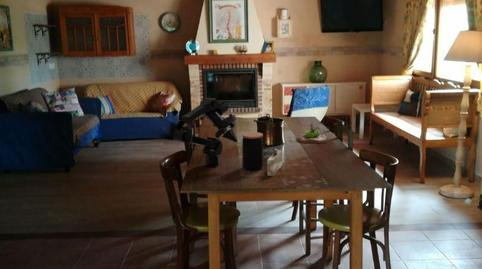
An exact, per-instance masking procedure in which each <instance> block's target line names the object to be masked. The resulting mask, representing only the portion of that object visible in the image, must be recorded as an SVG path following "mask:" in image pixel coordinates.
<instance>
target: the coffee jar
mask: <svg viewBox="0 0 482 269" xmlns="http://www.w3.org/2000/svg"><path fill="white" fill-rule="evenodd" d="M263 137H264V134H263V133H262V132H255V131H251V132H250V131H249V132H244V133H242V140H241V143H242V144H241V146H242V147H241V149H242V154H241V155H242V158H241V159H242V160H241V161H242V165H241V166H242V168H243V169H244V170H246V171H250V172H252V171H253V172H255V171H260V170H262V168H263V167H264V138H263Z"/></svg>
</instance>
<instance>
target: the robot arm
mask: <svg viewBox="0 0 482 269" xmlns="http://www.w3.org/2000/svg"><path fill="white" fill-rule="evenodd" d="M229 110H230V109H229V105H228V104H227V103H225V101H224V100H220V101H219V102H218V101H217V99H216V98H211V97H204V98H203V99H202V100H201V101H200V103H199V105H197V106H196V107H195V108H193V109H192V110H190V111H189V112H187V113H186V114H184V115H182V116H181V117H180V120H179V122H178V123H177V124H176V125H175V127H174V130H173V132H172V138H173V141H175V142H179V143H184V144H194V145H198V146H203V149H202V154H205V164H204V166H205V167H211V168H212V167H213V168H216V167H218V166H219V165H220V164H221V159H220V158H221V157H220V156H221V154H222V150H223V147H224V146H223V141H222V140H221V137H222V138H225V139H227V140H229V141H231V142H234V143H237V142H238V139H237V137H236V135H235V133H234V127H235V126H236V125H237V123H236V122H235V121H237V118H236V117H237V116H236V115H235V114H234V113H232V112H231V113H229V114H228V116H227V117H225V116H223V115H225V114H226V113H227V112H229ZM200 117H202V119H206V118H207V119H208V120H209V121H210V123H212V126H213V128H214V127H215V128H216V129H217V131H216V132H215V133H214V136H215V137H211V136H206V138H204V137H201V136H200V137H199V136H197V135H193V127H192V124H193V122H194V121H196V120H197V119H199V118H200ZM185 125H186V130H181V129H182V128H183V127H184V126H185Z"/></svg>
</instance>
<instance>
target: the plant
mask: <svg viewBox="0 0 482 269" xmlns="http://www.w3.org/2000/svg"><path fill="white" fill-rule="evenodd" d="M313 125H314V123H313V122H310V128H309V130H304V131H305V133H299V134H298V135H297V137H296V139H295V140H296V141H297V142H299V143H300V144H326V143H327V142H328V141H329V140H328V139H329V138H328V136H327V135H325V134H322V133H320V131H321V127H315V128H313ZM317 129H318V131H317Z"/></svg>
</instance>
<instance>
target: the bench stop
mask: <svg viewBox="0 0 482 269" xmlns="http://www.w3.org/2000/svg"><path fill="white" fill-rule="evenodd" d="M272 151H273V152H272V153H273V154H272V155H271V156H270V157H269V158H268V159H267V165H266V166H267V169H266V170H267V173H266V174H267V176H271V177H274V176H275V175H276V174H277V173H278V171H279V170H280V169H281V167H282V166H283V154H284V153H283V150H281V149H278V148H273V150H272Z"/></svg>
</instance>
